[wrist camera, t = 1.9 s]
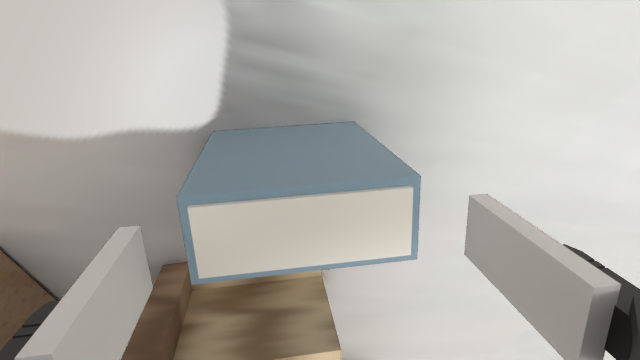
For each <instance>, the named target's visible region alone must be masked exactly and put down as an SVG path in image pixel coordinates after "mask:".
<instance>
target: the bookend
mask: <svg viewBox="0 0 640 360" xmlns="http://www.w3.org/2000/svg"><path fill="white" fill-rule="evenodd" d="M184 245H185V244H184ZM185 251H186V250H185ZM186 257H187V256H186ZM187 263H188V261H187ZM188 268H189V267H188ZM189 274H190V273H189ZM190 280H191V279H190ZM191 286H192V294H191V297H190V301H189V304H188V308H187V311H186V315H185V319H184V322H183V326H182V329H181V333H180V337H179V340H178V344H177V347H176V351H175V354H174V358H173V360H341V348H340V344H339V340H338V336H337V332H336V329H335V325H334V321H333V317H332V313H331V310H330V306H329V302H328V298H327V294H326V291H325V287H324V283H323V279H322V274H321V270H317V271H308V272H299V273H290V274H282V275H273V276H264V277H255V278H246V279H237V280H228V281H220V282H211V283H202V284H193V285H191Z"/></svg>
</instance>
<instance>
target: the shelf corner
mask: <svg viewBox="0 0 640 360" xmlns="http://www.w3.org/2000/svg"><path fill="white" fill-rule="evenodd" d="M191 294H192V286H191V280H190V274H189V268H188V263H179V264H169V265H163V267H162V269H161V271H160V273H159V276H158V278H157V280H156V282H155V285H154V287H153V289H152V292H151V294H150V296H149V298H148V301H147V303H146V305H145V307H144V310H143V312H142V314H141V316H140V319H139V321H138V323H137V325H136V328H135V330H134V332H133V334H132V337H131V339H130V341H129V343H128V346H127V348H126V350H125V352H124V355H123V357H122V359H121V360H173V358H174V354H175V351H176V347H177V344H178V340H179V337H180V333H181V329H182V326H183V322H184V319H185V315H186V311H187V308H188V304H189V301H190V297H191Z"/></svg>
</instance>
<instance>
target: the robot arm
mask: <svg viewBox="0 0 640 360" xmlns="http://www.w3.org/2000/svg"><path fill="white" fill-rule="evenodd" d="M464 254H465V255H466V256H467V257H468V258H469V260H470V261H471V262H472V263H473V264H474V265H475V266H476V267H477V268H478V269H479V270H480V271H481V272H482V273H483V274H484V275H485V276H486V277H487V278H488V280H489V281H490V282H491V283H492V284H493V285H494V286H495V287H496V288H497V289H498V290H499V291H500V292H501V293H502V294H503V295H504V296H505V297H506V298H507V300H508V301H509V302H510V303H511V304H512V305H513V306H514V307H515V308H516V309H517V310H518V311H519V312H520V313H521V314H522V315H523V316H524V317H525V318H526V320H527V321H528V322H529V323H530V324H531V325H532V326H533V327H534V328H535V329H536V330H537V331H538V332H539V333H540V334H541V335H542V336H543V337H544V338H545V340H546V341H547V342H548V343H549V344H550V345H551V346H552V347H553V348H554V349H555V350H556V351H557V352H558V353H559V354H560V355H561V356H562V357H563V358H564V360H603V357H604V353H605V350H606V351H607V352H608V353H610V354H611V355H612V356H613V357H614V358H615V359H616V360H640V289H639V288H637V287H636V286H634V285H633V284H631V283H629V282H628V281H626V280H625V279H623V278H622V277H620V276H619V275H617V274H616V273H614V272H613V271H611V270H610V269H608V268H605V266H603V265H602V264H600V263H599V262H597V261H594V259H593V258H591V257H590V256H588V255H587V254H585V253H584V252H582V251H580V250H577V249H575V248H572V247H570V246H568V245H565V244H564V245H562V244H561V243H559V242H558V241H556V240H555V239H553V238H552V237H550V236H549V235H547V234H546V233H544V232H543V231H541V230H540V229H538V228H537V227H535V226H534V225H532V224H531V223H529V222H528V221H527V220H525V219H524V218H522V217H521V216H519V215H518V214H516V213H515V212H513V211H512V210H510V209H509V208H507V207H506V206H504V205H503V204H501V203H500V202H498V201H497V200H495V199H494V198H492V197H491V196H489V195H488V194H479V195H469V207H468V218H467V229H466V240H465V252H464ZM152 289H153V285H152V280H151V275H150V270H149V266H148V261H147V256H146V251H145V247H144V242H143V237H142V232H141V228H140V225H139V226H128V227H119V228H118V229H117V230H116V231H115V233H114V234H113V235H112V236H111V238H110V239H109V240H108V242H107V243H106V244H105V245H104V247H103V248H102V249H101V250H100V252H99V253H98V254H97V255H96V257H95V258H94V259H93V260H92V262H91V263H90V264H89V265H88V267H87V268H86V269H85V270H84V272H83V273H82V274H81V275H80V277H79V278H78V279H77V280H76V282H75V283H74V284H73V285H72V287H71V288H70V289H69V290H68V292H67V293H66V294H65V295H64V297H63V298H62V299H61V300H57V301H49V302H48V303H46V304H45V305H43V306H42V307H41V308H39V309H38V310H36V311H35V312H33V313H32V314H31V315H30V317H29V318H28V319H27V320H26V321H25V322H24V324H23V325H22V328H19V329H18V331H17V332H16V333H15V334H14V335H13V336H12V337H13V338H12V339H10V340H9V341H8V342H7V343H6V344H5V346H4V347H3V348H2V349H1V350H0V360H120V359H121V357H122V355H123V352H124V350H125V348H126V346H127V344H128V341H129V339H130V337H131V335H132V333H133V331H134V328H135V326H136V324H137V322H138V320H139V317H140V315H141V313H142V311H143V309H144V307H145V304H146V302H147V300H148V298H149V296H150V293H151V291H152Z"/></svg>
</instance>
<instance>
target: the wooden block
mask: <svg viewBox="0 0 640 360" xmlns="http://www.w3.org/2000/svg"><path fill="white" fill-rule="evenodd" d="M49 301H57V300H56V299H55V298H53V297H52V296H51V295H50V294H49V293H48V292H47V291H46V290H45V289H43V288H42V287H41V286H40V285H39V284H38V283H37V282H36V281H34V280H33V279H32V278H31V277H30V276H29V275H28V274H27V273H26V272H24V271H23V270H22V269H21V268H20V267H19V266H18V265H17V264H15V263H14V262H13V261H12V260H11V259H10V258H9V257H8V256H7V255H5V254H4V253H3V252H2V251H1V250H0V350H1V349H2V348H3V347H4V346H5V344H6V343H7V342H8V341H9V340H10V339H12V338H13V337H12V336H13V335H14V334H15V333H16V332H17V331H18V329H19V328H22V325H23V324H24V322H25V321H26V320H27V319H28V318H29V317H30V315H31V314H32V313H33V312H35V311H36V310H38V309H39V308H41V307H42V306H43V305H45V304H46V303H48V302H49Z"/></svg>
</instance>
